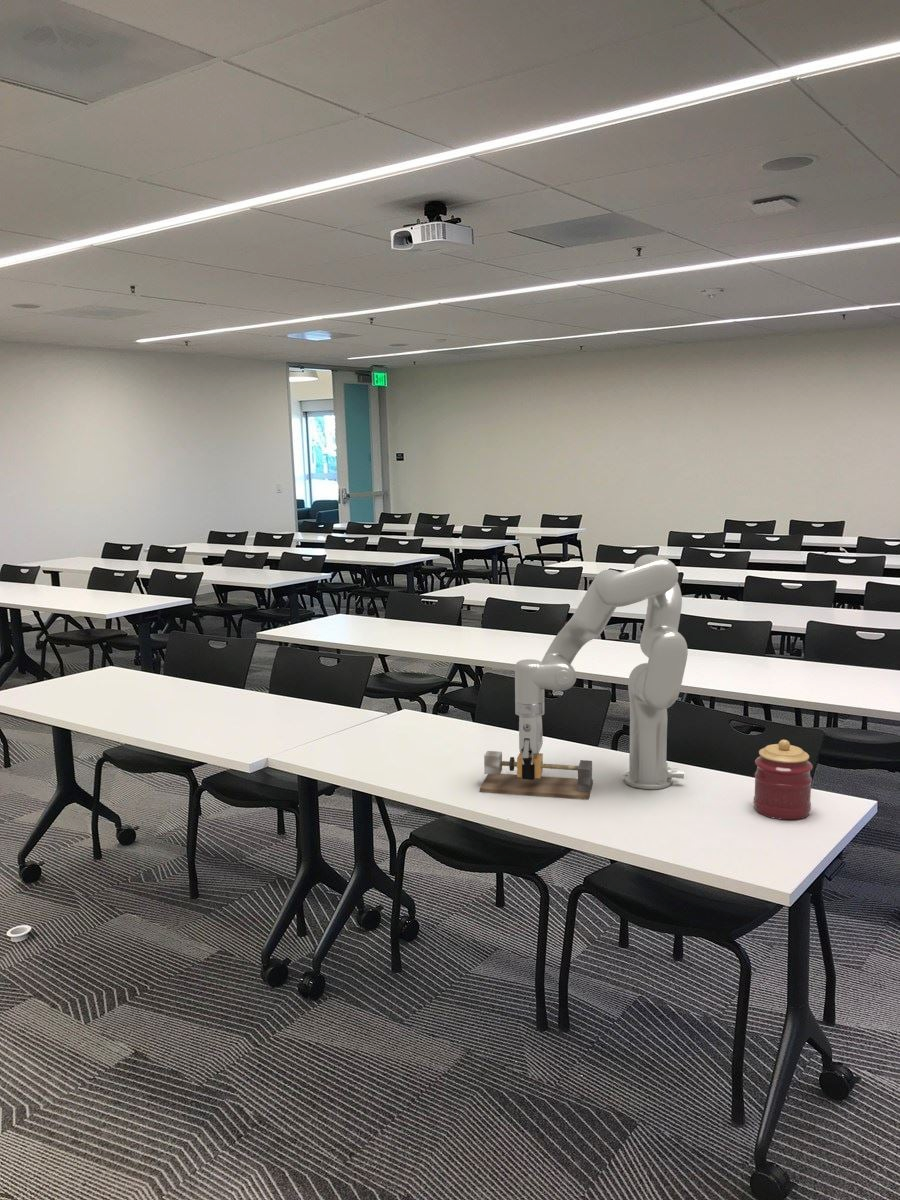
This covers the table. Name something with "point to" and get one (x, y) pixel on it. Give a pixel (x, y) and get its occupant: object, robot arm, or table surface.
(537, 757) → the sleeve
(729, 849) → the table surface
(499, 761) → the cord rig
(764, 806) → the canister
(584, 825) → the table surface
